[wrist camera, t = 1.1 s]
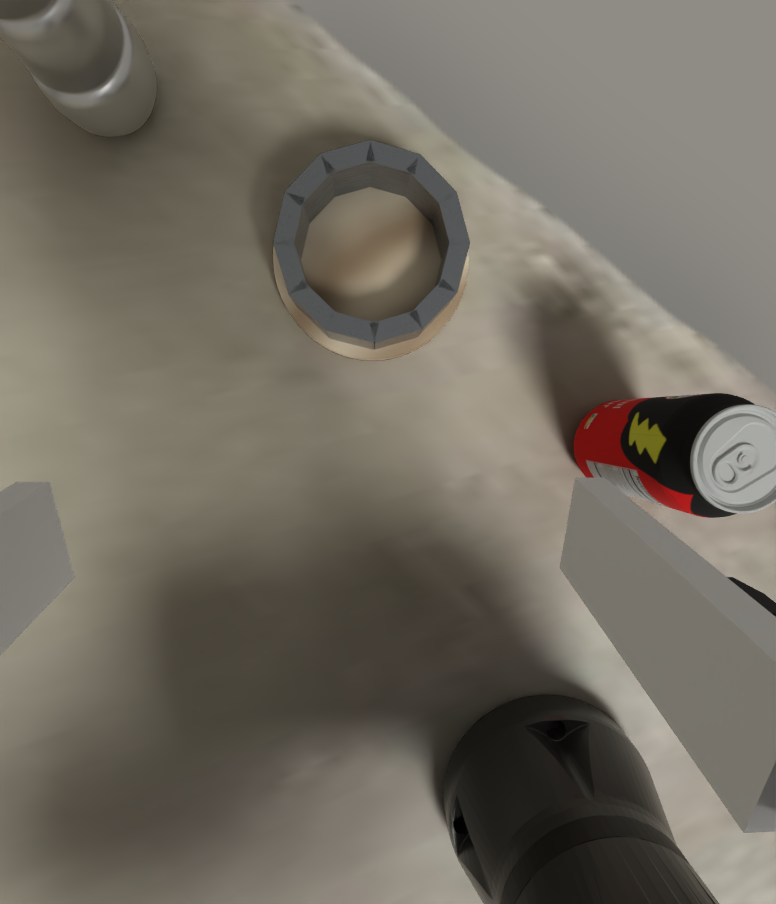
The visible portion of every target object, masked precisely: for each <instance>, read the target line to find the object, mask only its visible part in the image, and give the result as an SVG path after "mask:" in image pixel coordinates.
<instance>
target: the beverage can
mask: <svg viewBox="0 0 776 904" xmlns="http://www.w3.org/2000/svg"><path fill="white" fill-rule="evenodd" d="M574 454H575V459H576V462H577V464H578V466H579V468H580V470H581V471H582V473H583V474H584V475H585V476H586V477H587V478H605V479H606V480H607V481H609V482H610V483H611V484H612V485H614V486H615V487H616V488H617V489H619V490H620V491H621V492H622V493H623V494H626V495H629V496H632V497H636V498H639V499H643V500H646V501H649V502H653V503H656V504H659V505H663V506H666V507H669V508H673V509H676V510H679V511H683V512H686V513H690V514H693V515H696V516H701V517H709V518H714V517H726V516H730V515H734V514H737V513H740V514H741V513H752V512H756V511H759V510H762V509H764V508H766V507H768V506H770V505H771V504H773V503H774V502H776V412H774V411H772V410H771V409H768V408H766V407H763V406H759V405H755V404H753V403H752V402H750V401H748V400H746V399H744V398H741V397H738V396H734V395H730V394H722V393H715V394H700V395H685V396H670V397H656V398H641V399H626V400H614V401H609V402H606V403H603V404H601V405H599V406H597V407H596V408H594V409H593V410H591V411H590V412H589V413H588V414H587V415H586V416H585V417H584V419H583V420H582V421H581V423H580V425H579V426H578V429H577V431H576V434H575V439H574Z"/></svg>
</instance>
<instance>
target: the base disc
mask: <svg viewBox="0 0 776 904" xmlns="http://www.w3.org/2000/svg"><path fill="white" fill-rule="evenodd" d="M301 261H302V265H303V268H304V272H305V275H306V278H307V282H308V285H309V287H310V288H311V289H312V290H313V291H314V292H315V293H316V294H318V295H319V296H320V297H321V298H322V299H323V300H324V301H325V302H326V303H327V304H328V305H329V306H330V307H331V308H332V309H333V310H334V311H335V312H337V313H341V314H345V315H349V316H353V317H356V318H360V319H364V320H368V321H372V322H376V321H380V320H383V319H387V318H390V317H394V316H397V315H401V314H404V313H408V312H411V311H413V310H414V309H415V308H416V307H417V306H418V305H419V304H420V303H421V302H422V301H423V299H424V298H425V297H426V296H427V295H428V294H429V293H430V292H431V291H432V290H433V289H434V288H435V284H436V280H437V276H438V272H439V268H440V264H441V256H440V252H439V249H438V245H437V241H436V238H435V234H434V230H433V226H432V223H431V222H430V221H429V220H428V219H427V218H426V217H425V216H424V215H423V214H422V213H421V212H420V211H419V210H418V209H417V208H416V207H415V206H414V205H413V204H412V203H411V202H410V201H409V200H408V199H407V198H406V197H404V196H401V195H397V194H393V193H390V192H386V191H383V190H379V189H376V188H372V187H368V188H365V189H361V190H358V191H354V192H350V193H347V194H343V195H340V196H336V197H334V198H333V199H332V200H331V201H330V202H329V204H328V205H327V206H326V207H325V208H324V209H323V210H322V211H321V212H320V213H319V214H318V215H317V216H316V217H315V218H314V220H313V221H312V222H311V223H310V224H309V228H308V233H307V237H306V241H305V246H304V250H303V254H302V259H301ZM468 264H469V256H468V253H467V257H466V261H465V265H464V269H463V273H462V277H461V281H460V285H459V289H458V292H457V294H456V295H455V297H454V298H453V299H452V301H451V302H450V303H449V305H448V306H447V307H446V308H445V309H444V310H443V311H442V312H441V313H440V314H439V315H438V316H437V317H436V318H435V319H434V321H433V322H432V323H431V324H430V325H429V326H428V327H427V328H426V329H425V330H424V331H423V332H422V333H421V334H420V335H419V336H418V337H417V338H414V339H411V340H407V341H404V342H400V343H397V344H393V345H390V346H386V347H383V348H379V349H376V350H372V349H368V348H364V347H360V346H356V345H352V344H348V343H344V342H340V341H337V340H333V339H330V338H328V337H327V336H326V335H325V334H324V333H323V332H322V331H321V330H320V329H319V328H318V327H317V326H316V325H315V324H314V323H313V322H312V321H311V320H310V319H309V318H308V317H307V316H306V315H305V314H304V313H303V312H301V311H300V310H299V309H298V308H297V307H296V305H295V304H294V302H293V301H292V299H291V297H290V296H289V294H288V291H287V288H286V285H285V281H284V278H283V275H282V271H281V268H280V265H279V261H278V258H277V255H276V252H275V248H274V246H273V266H274V274H275V279H276V283H277V287H278V290H279V292H280V295H281V298H282V300H283V302H284V304H285V306H286V308H287V309H288V311H289V313H290V314H291V316H292V317H293V318H294V320H295V321H296V323H297V324H298V325H299V326H300V327H301V328H302V330H303V331H304V332H305V333H306V334H307V335H308V336H310V337H311V338H312V339H313V340H314V341H315V342H317V343H318V344H320V345H321V346H323V347H325V348H326V349H328V350H330V351H332V352H334V353H336V354H339V355H342V356H345V357H348V358H352V359H358V360H367V361H378V360H388V359H392V358H397V357H400V356H403V355H405V354H408V353H410V352H412V351H414V350H416V349H418V348H420V347H422V346H423V345H424V344H426V343H427V342H429V341H430V340H431V339H432V338H433V337H434V336H435V335H437V334H438V333H439V332H440V331H441V329H442V328H443V327H444V326H445V325H446V323H447V322H448V321H449V320H450V318H451V317H452V315H453V314H454V312H455V310H456V309H457V307H458V304H459V302H460V300H461V298H462V295H463V292H464V289H465V286H466V281H467V275H468Z"/></svg>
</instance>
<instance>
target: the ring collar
mask: <svg viewBox="0 0 776 904" xmlns="http://www.w3.org/2000/svg"><path fill="white" fill-rule="evenodd" d="M368 187H372V188H376V189H379V190H383V191H386V192H390V193H393V194H397V195H401V196H404V197H406V198H407V199H408V200H409V201H410V202H411V203H412V204H413V205H414V206H415V207H416V208H417V209H418V210H419V211H420V212H421V213H422V214H423V215H424V216H425V217H426V218H427V219H428V220H429V221H430V222H431V223H432V226H433V230H434V234H435V238H436V241H437V245H438V249H439V252H440V256H441V264H440V268H439V272H438V276H437V280H436V284H435V288H434V289H433V290H432V291H431V292H430V293H429V294H428V295H427V296H426V297H425V298H424V299H423V301H422V302H421V303H420V304H419V305H418V306H417V307H416V308H415V309H414V310H413V311H411V312H408V313H404V314H401V315H397V316H394V317H390V318H387V319H383V320H380V321H376V322H372V321H368V320H364V319H360V318H356V317H353V316H349V315H345V314H341V313H337V312H335V311H334V310H333V309H332V308H331V307H330V306H329V305H328V304H327V303H326V302H325V301H324V300H323V299H322V298H321V297H320V296H319V295H318V294H316V293H315V292H314V291H313V290H312V289H311V288H310V287H309V285H308V282H307V278H306V275H305V272H304V268H303V265H302V261H301V259H302V254H303V250H304V246H305V241H306V237H307V233H308V228H309V224H310V223H311V222H312V221H313V220H314V218H315V217H316V216H317V215H318V214H319V213H320V212H321V211H322V210H323V209H324V208H325V207H326V206H327V205H328V204H329V202H330V201H331V200H332V199H333V198H334V197H336V196H340V195H343V194H347V193H350V192H354V191H358V190H361V189H365V188H368ZM273 245H274V248H275V252H276V255H277V258H278V261H279V265H280V268H281V271H282V275H283V278H284V281H285V285H286V288H287V291H288V294H289V296H290V297H291V299H292V301H293V302H294V304H295V305H296V307H297V308H298V309H299V310H300V311H301V312H303V313H304V314H305V315H306V316H307V317H308V318H309V319H310V320H311V321H312V322H313V323H314V324H315V325H316V326H317V327H318V328H319V329H320V330H321V331H322V332H323V333H324V334H325V335H326V336H327V337H328V338H330V339H333V340H337V341H340V342H344V343H348V344H352V345H356V346H360V347H364V348H368V349H372V350H376V349H379V348H383V347H386V346H390V345H393V344H397V343H400V342H404V341H407V340H411V339H414V338H417V337H418V336H419V335H420V334H421V333H422V332H423V331H424V330H425V329H426V328H427V327H428V326H429V325H430V324H431V323H432V322H433V321H434V319H435V318H436V317H437V316H438V315H439V314H440V313H441V312H442V311H443V310H444V309H445V308H446V307H447V306H448V305H449V303H450V302H451V301H452V299H453V298H454V297H455V295H456V294H457V292H458V289H459V285H460V281H461V277H462V273H463V269H464V265H465V261H466V257H467V253H468V249H469V245H470V241H469V237H468V233H467V229H466V226H465V222H464V218H463V214H462V211H461V207H460V203H459V199H458V195H457V192H456V191H455V190H454V189H453V188H452V187H451V186H450V185H449V184H448V183H447V181H446V180H445V179H444V178H443V177H442V176H441V175H440V174H439V173H438V172H437V171H436V170H435V169H434V168H433V167H432V166H431V165H430V164H429V163H428V162H427V161H426V160H425V159H424V158H423V156H422V155H421V154H418V153H415V152H411V151H408V150H404V149H401V148H397V147H394V146H390V145H387V144H383V143H380V142H376V141H373V140H367V141H364V142H360V143H356V144H353V145H349V146H346V147H342V148H338V149H335V150H331V151H327V152H324V153H321V154H319V155H318V156H317V158H316V159H315V160H314V161H313V162H312V163H311V164H310V165H309V166H308V167H307V168H306V169H305V170H304V171H303V172H302V174H301V175H300V176H299V177H298V178H297V179H296V180H295V181H294V182H293V183H292V184H291V185H290V186H289V187H288V188H287V190H286V191H285V192H284V196H283V201H282V205H281V210H280V214H279V219H278V223H277V228H276V232H275V237H274V241H273Z"/></svg>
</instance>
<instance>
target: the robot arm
mask: <svg viewBox="0 0 776 904" xmlns="http://www.w3.org/2000/svg"><path fill="white" fill-rule="evenodd" d="M560 569H561V570H562V572H563V573H564V575H565V576H566V578H567V579H568V580H569V582H570V583H571V585H572V586H573V588H574V589H575V591H576V592H577V593H578V595H579V596H580V598H581V599H582V601H583V602H584V604H585V605H586V606H587V608H588V609H589V611H590V612H591V614H592V615H593V616H594V618H595V619H596V621H597V622H598V624H599V625H600V627H601V628H602V629H603V631H604V632H605V634H606V635H607V637H608V638H609V640H610V641H611V642H612V644H613V645H614V647H615V648H616V650H617V651H618V652H619V654H620V655H621V657H622V658H623V660H624V661H625V663H626V664H627V665H628V667H629V668H630V670H631V671H632V673H633V674H634V676H635V677H636V678H637V680H638V681H639V683H640V684H641V686H642V687H643V688H644V690H645V691H646V693H647V694H648V696H649V697H650V699H651V700H652V701H653V703H654V704H655V706H656V707H657V709H658V710H659V712H660V713H661V714H662V716H663V717H664V719H665V720H666V722H667V723H668V724H669V726H670V727H671V729H672V730H673V732H674V733H675V735H676V736H677V737H678V739H679V740H680V742H681V743H682V745H683V746H684V748H685V749H686V750H687V752H688V753H689V755H690V756H691V758H692V759H693V760H694V762H695V763H696V765H697V766H698V768H699V769H700V771H701V772H702V773H703V775H704V776H705V778H706V779H707V781H708V782H709V784H710V785H711V786H712V788H713V789H714V791H715V792H716V794H717V795H718V796H719V798H720V799H721V801H722V802H723V804H724V805H725V807H726V808H727V809H728V811H729V812H730V814H731V815H732V817H733V818H734V820H735V821H736V822H737V824H738V825H739V827H740V828H741V830H742V831H743V832H744V833H751V832H769V831H776V603H775V602H774V601H772V600H771V599H770V598H769V597H767V596H766V595H765V594H763V593H762V592H760V591H758V590H756V589H754V588H752V587H750V586H748V585H746V584H744V583H743V582H741V581H739V580H737V579H735V578H733V577H726V576H725V575H723V574H722V573H721V572H720V571H718V570H717V569H716V568H715V567H713V566H712V565H711V564H710V563H709V562H707V561H706V560H705V559H704V558H702V557H701V556H700V555H699V554H697V553H696V552H695V551H694V550H693V549H691V548H690V547H689V546H688V545H686V544H685V543H684V542H683V541H681V540H680V539H679V538H678V537H676V536H675V535H674V534H673V533H672V532H670V531H669V530H668V529H667V528H665V527H664V526H663V525H662V524H660V523H659V522H658V521H657V520H656V519H654V518H653V517H652V516H651V515H649V514H648V513H647V512H646V511H644V510H643V509H642V508H641V507H639V506H638V505H637V504H636V503H635V502H633V501H632V500H631V499H630V498H628V497H627V496H626V495H625V494H623V493H622V492H621V491H620V490H619V489H617V488H616V487H615V486H614V485H612V484H611V483H610V482H609V481H607V480H606V479H605V478H575V482H574V488H573V494H572V499H571V505H570V511H569V517H568V522H567V528H566V534H565V540H564V545H563V551H562V557H561V563H560ZM74 578H75V577H74V573H73V569H72V566H71V562H70V558H69V554H68V550H67V547H66V543H65V539H64V535H63V531H62V527H61V524H60V520H59V516H58V512H57V508H56V505H55V501H54V497H53V493H52V489H51V486H50V482H16V483H14V484H13V485H11V486H9V487H8V488H6V489H4V490H3V491H1V492H0V655H1V654H2V653H3V652H4V651H5V650H6V649H7V648H8V647H9V645H10V644H11V643H12V642H13V641H14V640H15V639H16V638H17V637H18V636H19V635H20V634H21V633H22V632H23V631H24V630H25V629H26V628H27V627H28V626H29V625H30V624H31V622H32V621H33V620H34V619H35V618H36V617H37V616H38V615H39V614H40V613H41V612H42V611H43V610H44V609H45V608H46V607H47V606H48V605H49V604H50V603H51V602H52V601H53V599H54V598H55V597H56V596H57V595H58V594H59V593H60V592H61V591H62V590H63V589H64V588H65V587H66V586H67V585H68V584H69V583H70V582H71V581H72V580H73V579H74ZM443 801H444V809H445V815H446V820H447V825H448V830H449V835H450V839H451V842H452V845H453V848H454V851H455V853H456V856H457V858H458V860H459V862H460V864H461V866H462V868H463V870H464V871H465V873H466V875H467V876H468V878H469V880H470V881H471V883H472V885H473V886H474V888H475V890H476V891H477V893H478V895H479V896H480V898H481V900H482V902H483V903H484V904H719V903H718V901H717V900H716V899H715V897H714V896H713V895H712V893H711V892H710V891H709V889H708V888H707V886H706V885H705V884H704V882H703V881H702V880H701V878H700V877H699V876H698V874H697V873H696V872H695V871H694V869H693V868H692V866H691V865H690V864H689V862H688V861H687V859H686V858H685V857H684V855H683V854H682V853H681V851H680V850H679V848H678V847H677V845H676V843H675V840H674V838H673V835H672V832H671V829H670V827H669V824H668V821H667V818H666V816H665V813H664V810H663V808H662V805H661V802H660V799H659V797H658V794H657V791H656V788H655V786H654V783H653V780H652V777H651V775H650V772H649V770H648V768H647V766H646V764H645V762H644V760H643V758H642V757H641V755H640V753H639V752H638V750H637V749H636V748H635V746H634V745H633V744H632V743H631V741H630V740H629V739H628V738H627V736H626V735H625V734H624V733H623V731H622V730H621V729H620V728H619V727H618V725H617V724H616V723H615V722H614V721H613V720H612V719H611V718H609V717H608V716H607V715H606V714H604V713H603V712H602V711H600V710H599V709H597V708H595V707H594V706H592V705H590V704H587V703H585V702H583V701H580V700H577V699H573V698H569V697H564V696H556V695H539V696H531V697H526V698H522V699H518V700H515V701H512V702H509V703H507V704H505V705H502V706H500V707H499V708H497V709H495V710H493V711H492V712H490V713H488V714H487V715H486V716H484V717H483V718H482V719H480V720H479V721H478V722H477V723H476V724H475V725H474V726H473V727H472V728H471V729H470V730H469V731H468V732H467V733H466V735H465V736H464V737H463V738H462V740H461V741H460V743H459V744H458V746H457V748H456V749H455V751H454V753H453V755H452V757H451V760H450V762H449V765H448V768H447V771H446V776H445V781H444V790H443Z"/></svg>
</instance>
